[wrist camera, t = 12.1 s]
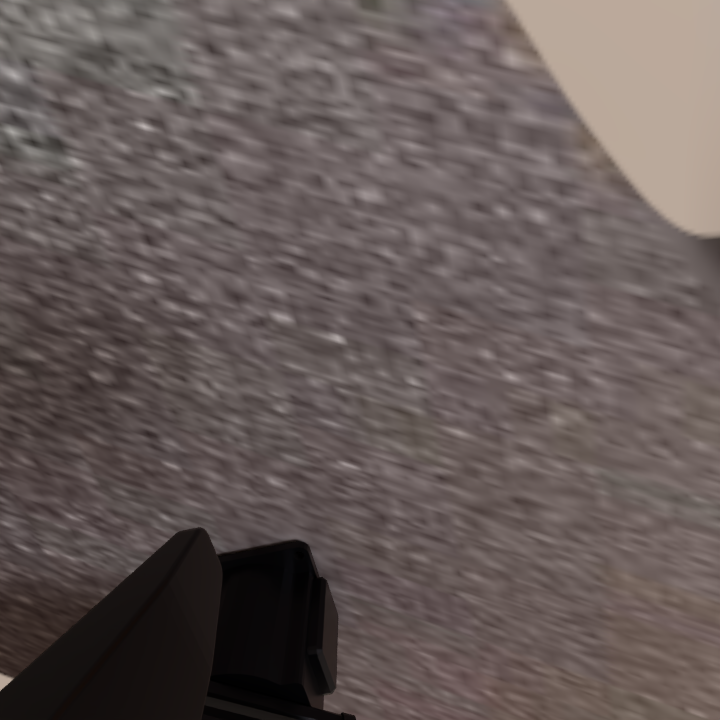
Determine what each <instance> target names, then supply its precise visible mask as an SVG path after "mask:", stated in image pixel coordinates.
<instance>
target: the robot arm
mask: <svg viewBox="0 0 720 720" xmlns="http://www.w3.org/2000/svg"><path fill="white" fill-rule="evenodd" d="M297 551H300V552H302V554H298V553H296V552H297ZM337 640H338V613H337V610H336V607H335V604H334V601H333V598H332V595H331V592H330V589H329V586H328V583H327V580H326V579H324V578H323V577H319V574H318V571H317V568H316V565H315V562H314V559H313V556H312V553H311V550H310V547H309V546H308V545H307V544H306V543H304V542H293V543H288V544H282V545H277V546H272V547H267V548H262V549H257V550H252V551H247V552H241V553H236V554H231V555H226V556H221V557H218V556H217V554H216V551H215V549H214V547H213V544H212V542H211V540H210V537H209V535H208V533H207V531H206V530H205V529H203V528H201V527H198V528H193V529H188V530H183V531H180V532H178V533H176V534H175V535H174V536H173V537H172V538H171V539H170V540H168V541H167V542H166V543H165V544H164V545H163V546H162V547H161V548H159V549H158V550H157V551H156V552H155V553H154V554H153V555H152V556H151V557H149V558H148V559H147V560H146V561H145V562H144V563H143V564H142V565H141V566H139V567H138V568H137V569H136V570H135V571H134V572H133V573H132V574H130V575H129V576H128V577H127V578H126V579H125V580H124V581H123V582H122V583H120V584H119V585H118V586H117V587H116V588H115V589H114V590H113V591H111V592H110V593H109V594H108V595H107V596H106V597H105V598H104V599H103V600H101V601H100V602H99V603H98V604H97V605H96V606H95V607H94V608H92V609H91V610H90V611H89V612H88V613H87V614H86V615H85V616H84V617H82V618H81V619H80V620H79V621H78V622H77V623H76V624H75V625H74V626H72V627H71V628H70V629H69V630H68V631H67V632H66V633H65V634H63V635H62V636H61V637H60V638H59V639H58V640H57V641H56V642H55V643H53V644H52V645H51V646H50V647H49V648H48V649H47V650H46V651H44V652H43V653H42V654H41V655H40V656H39V657H38V658H37V659H36V660H34V661H33V662H32V663H31V664H30V665H29V666H28V667H27V668H26V669H24V670H23V671H22V672H21V673H20V674H19V675H18V676H17V677H15V678H14V679H13V680H12V681H11V682H10V683H9V684H8V685H7V686H5V687H4V688H3V689H2V690H1V691H0V720H356V718H355V716H354V715H351V714H347V713H343V712H342V713H341V714H337V713H333V712H329V711H325V710H323V702H324V695H330V694H332V693H333V692H334V690H335V689H336V677H337Z"/></svg>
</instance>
